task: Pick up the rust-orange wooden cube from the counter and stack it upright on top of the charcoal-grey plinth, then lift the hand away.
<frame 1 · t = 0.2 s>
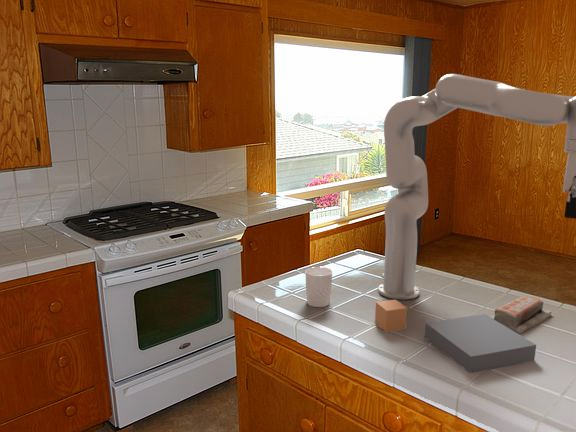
hand: (572, 214, 130), 31 cm above the countertop, tool pointing down, fingers open, 9 cm apart
cube: (390, 325, 138), on the countertop
packaged product: (519, 320, 143), on the countertop
plinth: (477, 348, 125), on the countertop
white cup: (318, 303, 152), on the countertop
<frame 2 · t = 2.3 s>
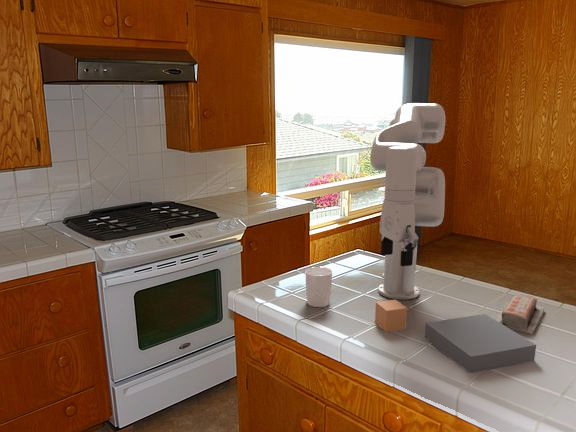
hand: (396, 259, 133), 19 cm above the countertop, tool pointing down, fingers open, 9 cm apart
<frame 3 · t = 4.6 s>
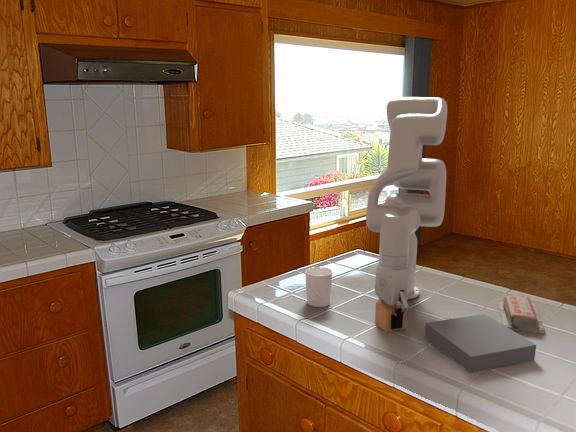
hand: (390, 322, 137), 1 cm above the countertop, tool pointing down, fingers closed on cube, 6 cm apart
cube: (390, 325, 138), on the countertop, touching gripper
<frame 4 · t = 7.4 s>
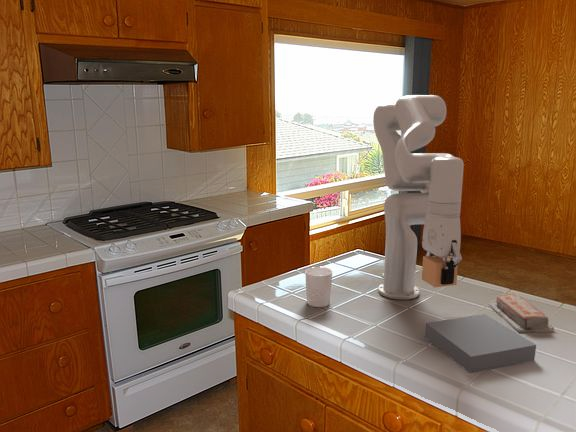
hand: (439, 278, 127), 16 cm above the countertop, tool pointing down, fingers closed on cube, 6 cm apart
cube: (438, 282, 127), point 15 cm above the countertop, touching gripper
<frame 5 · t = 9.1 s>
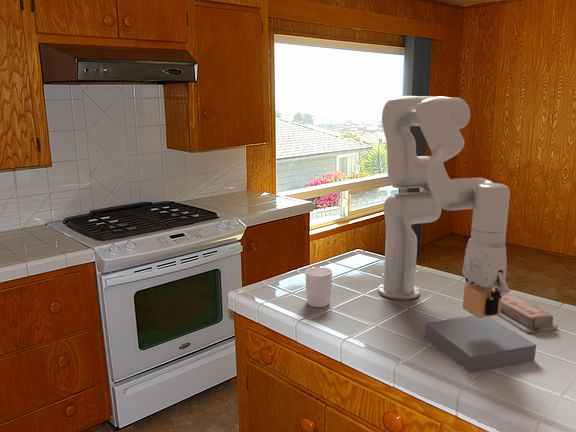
hand: (481, 308, 123), 11 cm above the countertop, tool pointing down, fingers closed on cube, 6 cm apart
cube: (481, 311, 123), point 10 cm above the countertop, touching gripper
when the fingers open (6 cm above the countertop, at t = 10.4 s): cube drops 1 cm, resting on plinth.
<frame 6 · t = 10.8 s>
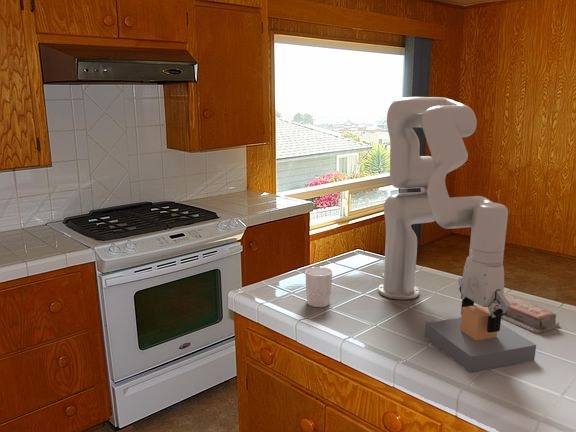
hand: (479, 322, 124), 7 cm above the countertop, tool pointing down, fingers open, 9 cm apart
cube: (478, 333, 124), point 4 cm above the countertop, touching plinth
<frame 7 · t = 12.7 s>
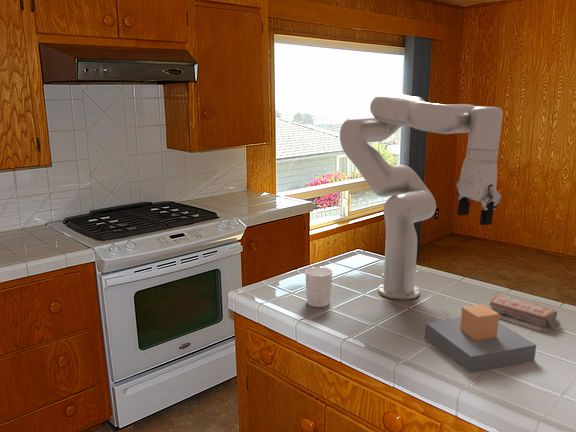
hand: (473, 219, 136), 28 cm above the countertop, tool pointing down, fingers open, 9 cm apart
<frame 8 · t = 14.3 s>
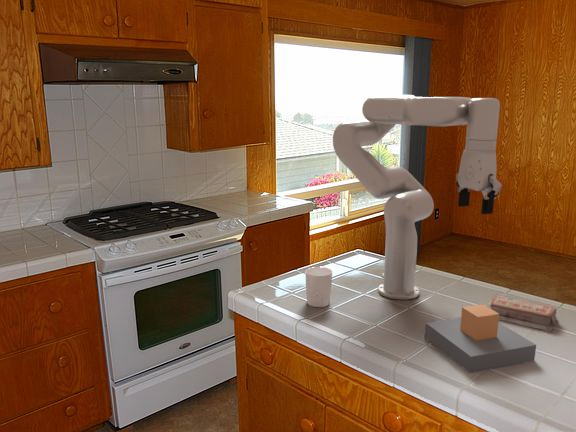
hand: (474, 209, 138), 30 cm above the countertop, tool pointing down, fingers open, 9 cm apart
at the end: cube inside the target area on the plinth (0.1 cm from its centre), point 4.0 cm above the plinth's base; cube tilted 0°; the gripper is holding nothing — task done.
